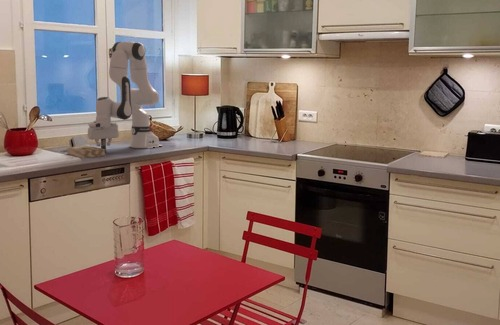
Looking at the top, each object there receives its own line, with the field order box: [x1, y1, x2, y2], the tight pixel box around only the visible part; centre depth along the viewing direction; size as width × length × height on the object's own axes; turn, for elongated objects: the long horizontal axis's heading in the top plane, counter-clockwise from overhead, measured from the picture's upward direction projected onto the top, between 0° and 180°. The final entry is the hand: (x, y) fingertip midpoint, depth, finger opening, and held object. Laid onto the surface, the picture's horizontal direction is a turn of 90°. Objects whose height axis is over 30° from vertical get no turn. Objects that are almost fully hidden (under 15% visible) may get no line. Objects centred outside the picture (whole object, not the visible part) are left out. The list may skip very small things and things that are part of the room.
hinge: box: [68, 134, 92, 147], centre depth 354 cm, size 17×5×10 cm, turn 166°
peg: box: [100, 139, 107, 154], centre depth 344 cm, size 3×3×9 cm
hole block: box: [66, 145, 106, 159], centre depth 332 cm, size 14×18×4 cm
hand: (103, 145), depth 344 cm, fingers open, 6 cm apart
